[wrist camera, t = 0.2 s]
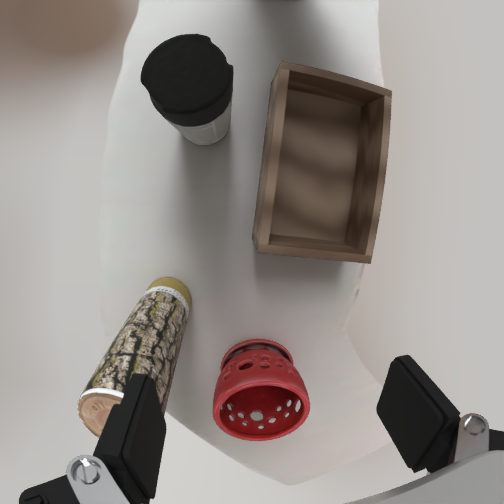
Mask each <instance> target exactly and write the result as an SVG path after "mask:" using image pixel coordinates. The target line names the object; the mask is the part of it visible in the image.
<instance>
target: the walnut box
mask: <svg viewBox="0 0 504 504" xmlns="http://www.w3.org/2000/svg"><path fill="white" fill-rule="evenodd" d="M391 96H392V91H390V90H388V89H385V88H382V87H380V86H377V85H374V84H371V83H368V82H364V81H361V80H358V79H355V78H351V77H348V76H344V75H341V74H337V73H333V72H330V71H326V70H321V69H317V68H313V67H308V66H304V65H299V64H294V63H289V62H283V61H281V63H280V66H279V68H278V70H277V72H276V74H275V76H274V78H273V80H272V82H271V90H270V98H269V106H268V115H267V123H266V131H265V139H264V147H263V155H262V163H261V171H260V179H259V187H258V195H257V203H256V211H255V219H254V228H253V236H252V239H253V241H254V244H255V246H256V249H257V252H258V253H266V254H276V255H286V256H296V257H306V258H317V259H327V260H337V261H347V262H358V263H368V264H370V263H371V259H372V253H373V249H374V244H375V239H376V234H377V227H378V222H379V216H380V210H381V204H382V197H383V190H384V183H385V175H386V166H387V157H388V147H389V135H390V120H391V98H392V97H391Z"/></svg>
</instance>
